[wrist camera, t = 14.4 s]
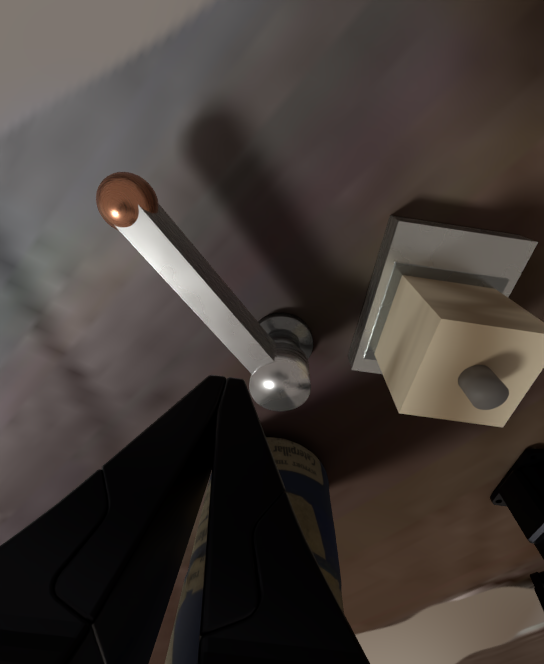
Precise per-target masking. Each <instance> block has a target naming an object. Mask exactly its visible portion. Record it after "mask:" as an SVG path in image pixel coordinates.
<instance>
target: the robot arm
mask: <svg viewBox="0 0 544 664" xmlns="http://www.w3.org/2000/svg"><path fill="white" fill-rule="evenodd" d="M211 470H212V476H211V489H210V503H209V516H208V529H207V543H206V556H205V569H204V583H203V596H202V610H201V623H200V637H199V650H198V663H197V664H370V663H369V661H368V659H367V657H366V655H365V653H364V651H363V650H362V648H361V646H360V644H359V642H358V640H357V638H356V636H355V634H354V632H353V630H352V628H351V626H350V625H349V623H348V621H347V619H346V617H345V615H344V613H343V611H342V609H341V607H340V605H339V603H338V602H337V600H336V598H335V596H334V594H333V592H332V590H331V588H330V586H329V584H328V582H327V580H326V579H325V577H324V575H323V573H322V571H321V569H320V567H319V565H318V563H317V561H316V559H315V557H314V555H313V553H312V551H311V548H310V546H309V544H308V542H307V540H306V538H305V536H304V534H303V531H302V529H301V526H300V524H299V522H298V519H297V517H296V514H295V512H294V510H293V507H292V504H291V502H290V499H289V496H288V494H287V493H286V489H285V486H284V484H283V481H282V478H281V476H280V473H279V471H278V468H277V465H276V463H275V460H274V457H273V455H272V452H271V449H270V447H269V444H268V442H267V439H266V436H265V434H264V431H263V428H262V426H261V423H260V420H259V418H258V415H257V413H256V410H255V407H254V405H253V402H252V399H251V397H250V394H249V391H248V389H247V386H246V384H245V381H244V380H243V379H238V378H231V377H229V378H227V380H226V378H225V377H223V376H216V375H210V376H208V377H207V378H205V379H204V380H203V381H202V382H201V383H200V384H198V385H197V386H196V387H195V388H194V389H193V390H191V391H190V392H189V393H188V394H187V395H185V396H184V397H183V398H182V399H181V400H180V401H178V402H177V403H176V404H175V405H174V406H173V407H171V408H170V409H169V410H168V411H167V412H166V413H164V414H163V415H162V416H161V417H160V418H158V419H157V420H156V421H155V422H154V423H153V424H151V425H150V426H149V427H148V428H147V429H146V430H144V431H143V432H142V433H141V434H140V435H139V436H137V437H136V438H135V439H134V440H133V441H131V442H130V443H129V444H128V445H127V446H126V447H124V448H123V449H122V450H121V451H120V452H119V453H117V454H116V455H115V456H114V457H113V458H112V459H110V460H109V461H108V462H107V463H106V464H104V465H103V466H102V470H100V469H99V470H97V471H96V472H95V473H94V474H93V475H91V476H90V477H89V478H88V479H87V480H85V481H84V482H83V483H82V484H81V485H79V486H78V487H77V488H76V489H75V490H73V491H72V492H71V493H70V494H68V495H67V496H66V497H65V498H63V499H62V500H61V501H60V502H59V503H57V504H56V505H55V506H54V507H52V508H51V509H50V510H48V511H47V512H46V513H44V514H43V515H42V516H40V517H39V518H38V519H36V520H35V521H34V522H32V523H31V524H30V525H28V526H27V527H25V528H24V529H23V530H21V531H20V532H19V533H17V534H16V535H15V536H13V537H12V538H10V539H9V540H8V541H6V542H5V543H3V544H2V545H1V546H0V664H148V663H149V660H150V657H151V654H152V651H153V648H154V645H155V642H156V639H157V636H158V633H159V630H160V627H161V624H162V621H163V618H164V614H165V611H166V608H167V605H168V602H169V599H170V596H171V593H172V590H173V587H174V584H175V581H176V578H177V575H178V572H179V569H180V566H181V563H182V560H183V556H184V553H185V550H186V547H187V544H188V541H189V538H190V535H191V532H192V529H193V526H194V523H195V520H196V517H197V514H198V511H199V508H200V505H201V502H202V498H203V495H204V492H205V489H206V486H207V483H208V480H209V477H210V474H211ZM490 499H491V501H492V503H493V504H494V505H500V506H507V507H508V508H509V510H510V512H511V513H512V515H513V516H514V518H515V520H516V521H517V523H518V525H519V526H520V528H521V530H522V531H523V533H524V535H525V536H526V538H527V539H528V541H529V542H530V543H534V545H535V546H536V548H537V549H538V551H539V553H540V554H541V556H542V558H543V559H544V450H541V449H528V450H526V451H525V452H524V453H523V454H522V456H521V457H520V458H519V459H518V461H517V462H516V463H515V465H514V466H513V467H512V469H511V470H510V471H509V473H508V474H507V475H506V477H505V478H504V479H503V481H502V482H501V483H500V484H499V486H498V487H497V488H496V490H495V491H494V492H493V494H492V495H491V496H490ZM530 577H531V579H532V582H533V584H534V586H535V588H534V589H535V592H536V594H537V596H538V599H539V601H540V603H541V606H542V608H543V610H544V571H542V572H540V573H538V572H535V573H532V574H530Z"/></svg>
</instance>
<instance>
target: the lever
mask: <svg viewBox="0 0 544 664" xmlns="http://www.w3.org/2000/svg"><path fill="white" fill-rule="evenodd" d="M96 203H97V207H98V210H99V212H100V214H101V216H102V217H103V219H104V220H105V221H106V222H107V223H108V224H109V225H110V226H112V227H113V228H115V229H116V230H119V231H120V232H121V233H122V234H123V235H124V236H125V237H126V238H127V239H128V241H129V242H130V243H131V244H132V245H133V246H134V247H135V248H136V249H137V250H138V251H139V252H140V254H141V255H142V256H143V257H144V258H145V259H146V260H147V261H148V262H149V263H150V264H151V265H152V267H153V268H154V269H155V270H156V271H157V272H158V273H159V274H160V275H161V276H162V277H163V278H164V280H165V281H166V282H167V283H168V284H169V285H170V286H171V287H172V288H173V289H174V290H175V291H176V293H177V294H178V295H179V296H180V297H181V298H182V299H183V300H184V301H185V302H186V303H187V304H188V306H189V307H190V308H191V309H192V310H193V311H194V312H195V313H196V314H197V315H198V316H199V317H200V319H201V320H202V321H203V322H204V323H205V324H206V325H207V326H208V327H209V328H210V329H211V330H212V332H213V333H214V334H215V335H216V336H217V337H218V338H219V339H220V340H221V341H222V342H223V343H224V345H225V346H226V347H227V348H228V349H229V350H230V351H231V352H232V353H233V354H234V355H235V356H236V358H237V359H238V360H239V361H240V362H241V363H242V364H243V365H244V366H245V367H246V368H247V369H248V371H249V372H250V373H251V377H250V383H249V390H250V393H251V396H252V397H253V399H254V400H255V401H256V402H257V403H258V404H259V405H261V406H262V407H264V408H266V409H269V410H273V411H288V410H292V409H295V408H297V407H299V406H300V405H302V404H303V403H304V402H305V401H306V400H307V398H308V396H309V394H310V390H311V385H310V374H309V364H308V359H307V357H306V355H305V353H304V352H303V351H302V350H301V349H300V348H298V347H297V346H295V345H293V344H290V343H286V342H274V341H273V340H272V338H271V337H270V336H269V335H268V334H267V332H266V331H265V330H264V329H263V328H262V326H261V325H260V324H259V323H258V322H257V320H256V319H255V318H254V317H253V316H252V314H251V313H250V312H249V311H248V310H247V308H246V307H245V306H244V305H243V304H242V302H241V301H240V300H239V299H238V298H237V297H236V295H235V294H234V293H233V292H232V291H231V289H230V288H229V287H228V286H227V285H226V283H225V282H224V281H223V280H222V279H221V277H220V276H219V275H218V274H217V273H216V271H215V270H214V269H213V268H212V267H211V265H210V264H209V263H208V262H207V261H206V259H205V258H204V257H203V256H202V255H201V254H200V252H199V251H198V250H197V249H196V248H195V246H194V245H193V244H192V243H191V242H190V240H189V239H188V238H187V237H186V236H185V234H184V233H183V232H182V231H181V230H180V228H179V227H178V226H177V225H176V224H175V222H174V221H173V220H172V219H171V218H170V217H169V215H168V214H167V213H166V212H165V211H164V209H163V208H162V207H161V206H160V205H159V203H158V199H157V196H156V194H155V192H154V190H153V188H152V187H151V186H150V185H149V183H148V182H146V181H145V180H144V179H143V178H141V177H140V176H138V175H135V174H133V173H129V172H117V173H113V174H111V175H109V176H107V177H106V178H105V179H104V180H103V181H102V182H101V183H100V185H99V187H98V189H97V193H96Z"/></svg>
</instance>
